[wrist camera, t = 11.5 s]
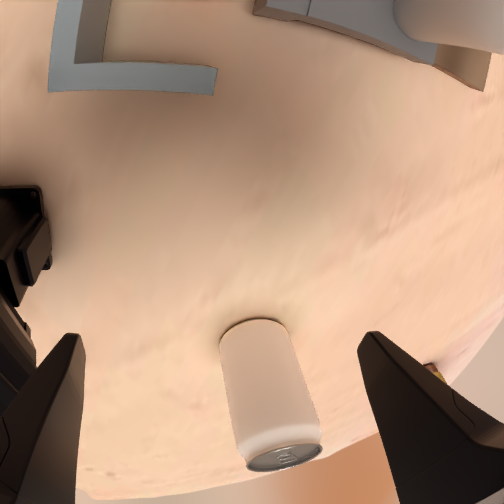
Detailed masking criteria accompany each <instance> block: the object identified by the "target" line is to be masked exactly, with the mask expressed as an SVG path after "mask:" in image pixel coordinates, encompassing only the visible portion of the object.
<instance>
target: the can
mask: <svg viewBox="0 0 504 504" xmlns="http://www.w3.org/2000/svg"><path fill="white" fill-rule="evenodd" d="M219 351H220V358H221V364H222V371H223V377H224V383H225V388H226V394H227V400H228V406H229V411H230V416H231V422H232V427H233V432H234V437H235V442H236V446H237V450H238V452H239V453H240V455H241V456H242V457H243V458H244V460H245V461H246V462H247V465H246V467H247V469H249V470H251V471H255V472H271V471H278V470H283V469H288V468H291V467H295V466H298V465H300V464H303V463H305V462H307V461H310V460H311V459H313V458H315V457H316V456H318V455H319V454H320V453H321V452H322V449H323V448H322V446H321V445H320V439H321V433H322V429H321V425H320V422H319V419H318V416H317V413H316V410H315V407H314V404H313V401H312V399H311V396H310V393H309V390H308V387H307V384H306V382H305V379H304V376H303V373H302V370H301V368H300V365H299V362H298V359H297V357H296V354H295V351H294V348H293V346H292V343H291V340H290V337H289V335H288V332H287V330H286V329H285V328H284V327H283V326H282V325H281V324H279V323H277V322H275V321H272V320H268V319H251V320H247V321H244V322H241V323H239V324H237V325H235V326H234V327H232V328H231V329H229V330H228V331H227V332H226V334H225V335H224V336H223V337H222V339H221V341H220V344H219Z"/></svg>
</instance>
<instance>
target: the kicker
mask: <svg viewBox="0 0 504 504" xmlns="http://www.w3.org/2000/svg"><path fill="white" fill-rule="evenodd" d="M253 14H255V15H260V16H265V17H270V18H274V19H279V20H283V21H291V20H294V19H296V20H300V21H303V22H307V23H311V24H314V25H318V26H321V27H324V28H328V29H331V30H334V31H337V32H340V33H343V34H346V35H349V36H352V37H355V38H357V39H360V40H363V41H365V42H368V43H371V44H373V45H376V46H378V47H381V48H383V49H386V50H388V51H390V52H393V53H395V54H397V55H400V56H402V57H404V58H406V59H408V60H411V61H413V62H418V63H423V64H429V65H433V64H434V60H435V55H436V51H437V46H438V43H440V44H447V45H454V46H461V47H467V48H473V49H478V50H483V51H488V52H493V53H497V54H502V55H504V0H256V1H255V6H254V10H253Z"/></svg>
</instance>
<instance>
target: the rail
mask: <svg viewBox="0 0 504 504" xmlns="http://www.w3.org/2000/svg"><path fill="white" fill-rule="evenodd" d="M491 54H492V53H491V52H488V51H483V50H478V49H473V48H467V47H461V46H454V45H447V44H440V43H438V46H437V51H436V55H435V60H434V64H433V65H431V66H433V67H435V68H437V69H439V70H441V71H443V72H444V73H446V74H448V75H450V76H452V77H453V78H455V79H457V80H459V81H460V82H462V83H464V84H465V85H467V86H469V87H470V88H472V89H476V90H479V91H482V92H483V91H484V87H485V82H486V78H487V73H488V69H489V64H490V59H491Z"/></svg>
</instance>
